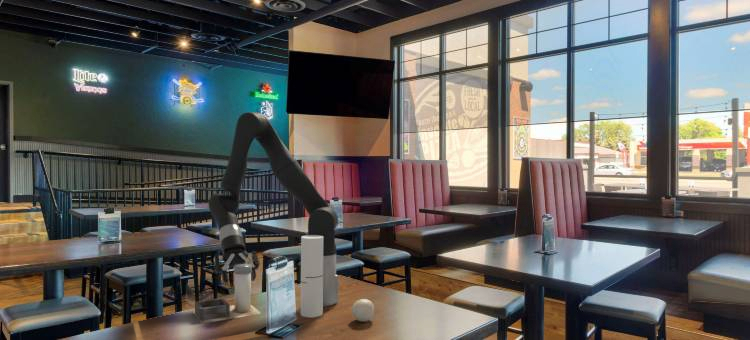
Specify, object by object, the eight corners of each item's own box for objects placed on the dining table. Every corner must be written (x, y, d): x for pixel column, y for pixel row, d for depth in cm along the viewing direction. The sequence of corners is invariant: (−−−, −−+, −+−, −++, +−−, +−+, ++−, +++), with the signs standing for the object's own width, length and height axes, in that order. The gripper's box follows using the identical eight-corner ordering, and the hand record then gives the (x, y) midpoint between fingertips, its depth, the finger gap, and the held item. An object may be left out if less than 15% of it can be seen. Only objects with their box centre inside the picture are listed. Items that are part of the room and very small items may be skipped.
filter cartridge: (248, 305, 151) (248, 263, 151) (253, 310, 147) (253, 266, 147) (232, 308, 149) (232, 264, 148) (236, 312, 144) (236, 268, 144)
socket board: (249, 307, 155) (249, 292, 155) (261, 318, 144) (261, 302, 144) (192, 315, 146) (192, 300, 146) (200, 328, 135) (200, 311, 135)
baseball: (350, 317, 146) (350, 296, 146) (373, 317, 147) (373, 296, 147) (351, 325, 139) (351, 303, 139) (375, 324, 140) (375, 302, 140)
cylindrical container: (318, 318, 145) (319, 238, 145) (297, 316, 146) (297, 238, 146) (325, 311, 152) (326, 235, 152) (305, 309, 153) (305, 234, 153)
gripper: (212, 235, 153) (220, 277, 144) (254, 232, 161) (264, 272, 151) (208, 248, 158) (215, 290, 148) (249, 245, 165) (259, 284, 156)
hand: (240, 281), depth 150 cm, fingers open, 8 cm apart
